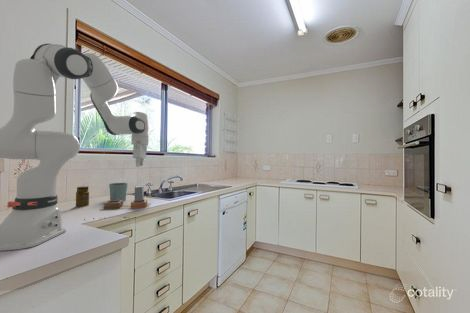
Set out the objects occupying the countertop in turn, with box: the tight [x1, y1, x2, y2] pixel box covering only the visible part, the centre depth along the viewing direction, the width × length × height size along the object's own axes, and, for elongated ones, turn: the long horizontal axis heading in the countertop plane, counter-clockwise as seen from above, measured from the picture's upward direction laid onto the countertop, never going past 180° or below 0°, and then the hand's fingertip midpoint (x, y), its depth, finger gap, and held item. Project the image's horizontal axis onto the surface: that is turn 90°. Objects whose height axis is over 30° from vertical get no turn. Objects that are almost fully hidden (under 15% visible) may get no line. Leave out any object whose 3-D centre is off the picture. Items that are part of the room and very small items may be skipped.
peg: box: [134, 185, 145, 202], centre depth 123 cm, size 4×4×11 cm
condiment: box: [75, 185, 90, 208], centre depth 121 cm, size 7×8×12 cm
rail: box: [99, 198, 151, 211], centre depth 121 cm, size 12×24×4 cm, turn 104°
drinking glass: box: [108, 182, 128, 202], centre depth 137 cm, size 10×10×12 cm
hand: (139, 166), depth 123 cm, fingers open, 8 cm apart
